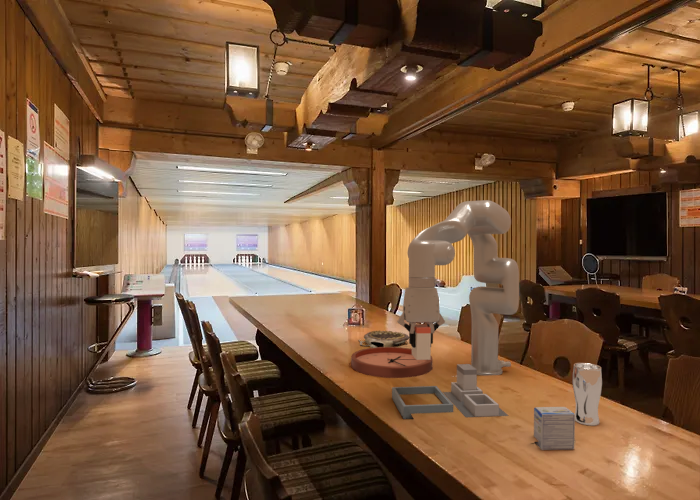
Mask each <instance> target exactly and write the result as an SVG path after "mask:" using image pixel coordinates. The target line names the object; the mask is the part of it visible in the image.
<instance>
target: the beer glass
mask: <svg viewBox="0 0 700 500" xmlns="http://www.w3.org/2000/svg"><path fill="white" fill-rule="evenodd" d="M572 371H573V372H572V387H573V395H574V400H575V401H574V402H575V411H574V414H575V423H578V424H581V425H584V426H591V427H594V426H595V427H596V426H599V425H600V418H599V405H600V404H599V403H600V399H601V395H602V389H603V388H602V387H603V378H602V367H601V366H600V365H598V364H594V363H588V362H575V363H574V364H573V370H572Z"/></svg>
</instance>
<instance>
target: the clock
mask: <svg viewBox="0 0 700 500" xmlns="http://www.w3.org/2000/svg"><path fill="white" fill-rule="evenodd" d="M350 360H351V361H350V363H351V366H350V367H351V368H352V370H354V371H356V372H357V373H360V374H363V375H366V376H371V377H377V378H385V379H386V378H387V379H406V378H415V377H419V376H423V375H426V374H429V373H430V372H432V370H433V364H434V363H433V356H432V355H431V360H416V359H415V358H414V356H413V355H412V348H407V347H398V346H394V347H384V346H379V347H378V346H377V347H375V348H372V347H368V348H364V349H360V350H357V351H354V352H353V353H352V354H351V358H350Z"/></svg>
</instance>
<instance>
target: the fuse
mask: <svg viewBox="0 0 700 500" xmlns="http://www.w3.org/2000/svg"><path fill="white" fill-rule="evenodd" d="M456 382H457V386H458V387H459V388H460V389H461V390H462V391H470V390H477V387H478V375H477V369H475V368H474V367H473V366H471V364H470V363H465V364H464V363H462V364H460V363H457V364H456Z"/></svg>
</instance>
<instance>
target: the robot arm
mask: <svg viewBox="0 0 700 500" xmlns="http://www.w3.org/2000/svg"><path fill="white" fill-rule="evenodd" d="M511 225H512V218H511V216H510V214H509V212H508V211H507V209H505V208H504V207H502V206H501V205H500V204H498V203H497V202H494V201H492V200H489V199H485V200H467V201H466V200H465V201H463V202H460V203H459V204H457V205H456V206H455V207H454V209H453V210H452V211H451V212H450V214H448V216H447V217H446V218H445V219H444V220H442V221H440V222H438V223H435V224H433V225H431V226H429V227H427V228H425V229H423V230H422V231H419V233H418V234H416V236H415V237H414V238H413V239H412V240H411V242H409V245H408V247H407V252H406V253H407V258H408V287H405V288H404V289H405V290H404V296H403V304H402V313H401V315H400V316H399V318H398V319H397V321H396V323H398V325H400V326H401V327H404V328H405V330H407V332H408V336H409V339H408V344H409V345H410V346H411V348H412V347H413V348H415V346H416V334H415V331H414V330H415V325H416V324H426V325H427V326H429V327H430V328H431V345H432V344H433V343H434V334H435V332H436V331H437V329H438V328H439V327H441V326H442V325H444V324H445V323H446V320H445V319H444V317H443V316H442V314H441V313H440V312H441V311H440V310H441V309H440V300H439V293H438V288H437V287H436V285H439V284H440V282H441V281H440V279H438V278H436V266H446V265H449V264H451V263H452V262H453V260H455V256H456V251H455V247H454V246H453V244H454V243H457V242H461V241H462V240H464V239H465V237H467V235H468V237H469V238H470V240H471V243H472V247H473V277H474V280H475V281H476V282H479V283H484V284H494V285H502V287H497V286H477V287H474V288H473V289H471V290H470V293H469V296H468V298H469V299H468V300H469V306H470V314H471V315H470V316H471V355H470V356H471V358H470V359H471V362H470V363H471V364H470V365H471V366H473V367H474V368H475V369H477V376H501V375H502V374H503V368H509V367H512V364H511V361H505V360H500V359H499V323H498V321H497V318H496V317H495V315H494V314H496V315H497V314H498V315H506V316H511V315H515V314H516V313H517V311H518V309H519V304H520V272H519V271H520V269H519V264H518V263H517V261H516V260H515V259H513V258H511V257H509V258H508V257H499V255H498V243H497V240H496V238H495V237H494V236H493V235H503V234H506V233H507V232H509V231H510V228H511ZM405 321H406V322H405Z"/></svg>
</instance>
